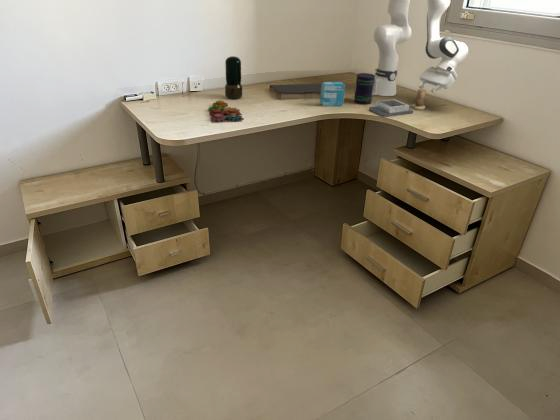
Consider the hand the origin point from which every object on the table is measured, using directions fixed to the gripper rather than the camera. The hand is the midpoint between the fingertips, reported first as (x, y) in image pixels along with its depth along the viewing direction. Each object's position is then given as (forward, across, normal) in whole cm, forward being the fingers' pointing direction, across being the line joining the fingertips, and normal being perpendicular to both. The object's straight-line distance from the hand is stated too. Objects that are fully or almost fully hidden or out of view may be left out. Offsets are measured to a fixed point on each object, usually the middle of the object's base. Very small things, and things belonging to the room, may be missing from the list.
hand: (426, 89), depth 231 cm
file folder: (+42, -48, -28) cm, 70 cm away
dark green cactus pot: (+71, -52, -57) cm, 105 cm away
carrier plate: (+22, 0, -9) cm, 24 cm away
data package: (+40, -21, -26) cm, 52 cm away
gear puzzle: (+82, -28, -67) cm, 109 cm away
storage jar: (+25, -20, -11) cm, 34 cm away
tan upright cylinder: (+9, 0, +5) cm, 10 cm away
